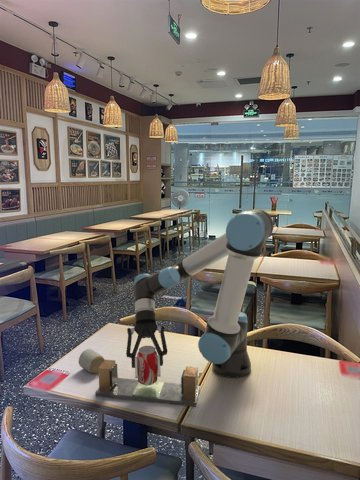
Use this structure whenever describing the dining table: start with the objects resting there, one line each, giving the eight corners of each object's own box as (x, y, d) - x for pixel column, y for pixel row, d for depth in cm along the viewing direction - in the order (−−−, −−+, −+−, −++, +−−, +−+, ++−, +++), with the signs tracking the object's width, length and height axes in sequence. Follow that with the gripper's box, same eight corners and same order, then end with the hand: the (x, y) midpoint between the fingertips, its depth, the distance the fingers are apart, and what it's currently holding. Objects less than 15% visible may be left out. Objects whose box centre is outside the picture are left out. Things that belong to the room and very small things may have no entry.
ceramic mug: (91, 377, 133) (90, 358, 132) (78, 370, 138) (77, 352, 137) (113, 367, 141) (112, 349, 140) (100, 360, 146) (99, 343, 145)
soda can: (157, 387, 119) (156, 354, 117) (136, 387, 119) (135, 354, 117) (158, 376, 126) (158, 344, 124) (138, 375, 126) (138, 344, 124)
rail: (199, 389, 125) (199, 364, 123) (195, 407, 115) (195, 380, 114) (106, 380, 131) (105, 356, 130) (95, 396, 122) (94, 370, 120)
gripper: (170, 315, 136) (176, 377, 123) (118, 318, 134) (118, 381, 120) (172, 307, 130) (178, 371, 117) (117, 310, 127) (117, 375, 114)
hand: (147, 376), depth 119 cm, fingers closed on soda can, 7 cm apart
